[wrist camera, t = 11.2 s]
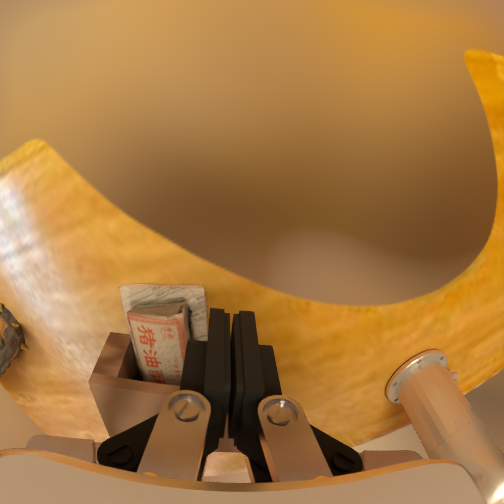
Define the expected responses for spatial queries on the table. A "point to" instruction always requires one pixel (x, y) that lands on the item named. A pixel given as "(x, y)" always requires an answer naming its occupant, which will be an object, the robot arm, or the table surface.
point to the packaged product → (164, 326)
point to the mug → (9, 339)
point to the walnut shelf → (130, 390)
